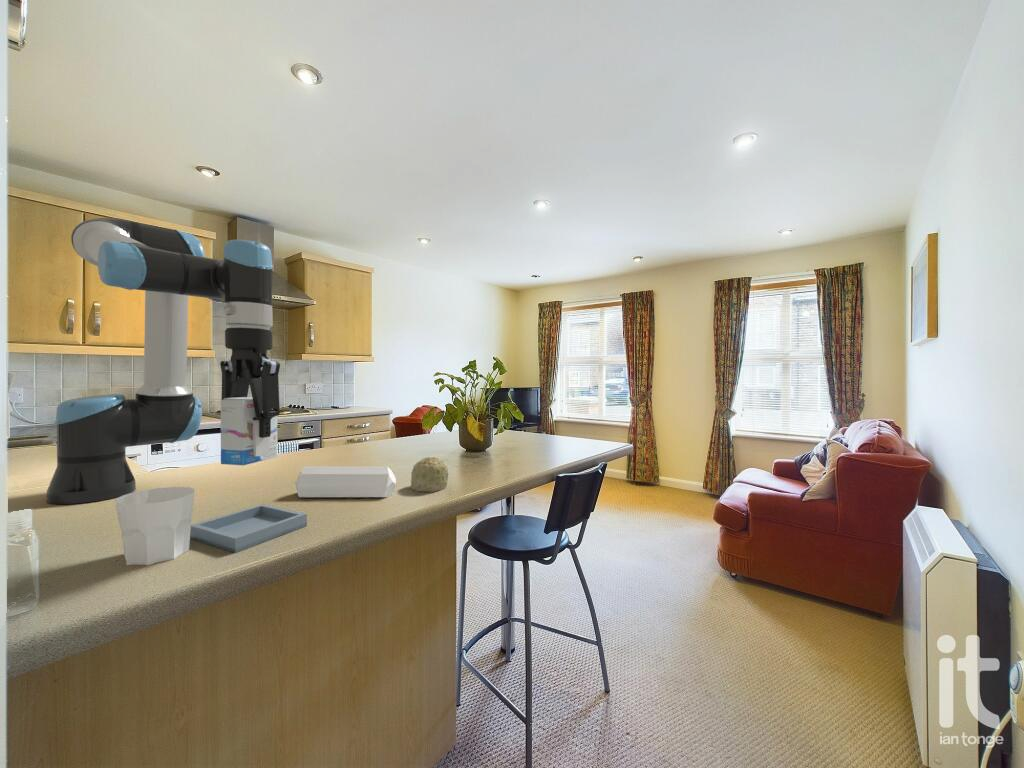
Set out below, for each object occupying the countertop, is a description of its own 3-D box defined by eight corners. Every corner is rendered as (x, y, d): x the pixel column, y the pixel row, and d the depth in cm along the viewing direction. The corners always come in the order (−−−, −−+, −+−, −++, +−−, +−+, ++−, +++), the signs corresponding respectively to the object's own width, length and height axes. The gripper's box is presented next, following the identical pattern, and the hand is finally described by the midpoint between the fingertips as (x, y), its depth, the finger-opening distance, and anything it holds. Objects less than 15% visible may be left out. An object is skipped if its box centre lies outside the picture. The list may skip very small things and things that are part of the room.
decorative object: (432, 507, 110) (455, 473, 110) (399, 484, 109) (422, 451, 110) (437, 499, 119) (458, 468, 120) (406, 478, 119) (427, 447, 119)
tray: (189, 538, 79) (189, 525, 79) (262, 515, 91) (262, 504, 91) (235, 552, 73) (235, 538, 73) (306, 525, 86) (306, 513, 86)
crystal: (285, 485, 101) (391, 485, 102) (296, 464, 107) (396, 464, 108) (292, 508, 105) (394, 507, 106) (303, 486, 111) (399, 486, 112)
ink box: (243, 466, 77) (242, 398, 77) (219, 465, 78) (218, 398, 78) (279, 456, 85) (278, 396, 85) (257, 455, 86) (256, 395, 86)
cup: (98, 568, 67) (97, 504, 67) (151, 541, 77) (150, 486, 77) (164, 569, 67) (163, 505, 67) (208, 542, 77) (208, 487, 77)
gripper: (196, 327, 81) (198, 451, 82) (263, 324, 73) (264, 462, 74) (237, 330, 88) (238, 445, 89) (302, 328, 80) (302, 454, 81)
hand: (250, 453), depth 82 cm, fingers closed on ink box, 6 cm apart
